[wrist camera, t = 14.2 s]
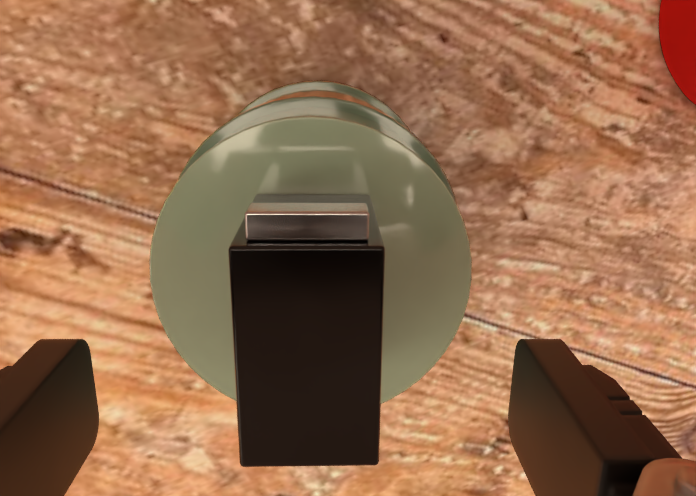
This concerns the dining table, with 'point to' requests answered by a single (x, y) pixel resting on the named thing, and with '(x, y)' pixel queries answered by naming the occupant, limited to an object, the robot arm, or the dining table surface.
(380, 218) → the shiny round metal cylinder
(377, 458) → the black usb flash drive
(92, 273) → the dining table surface
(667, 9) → the decorative ornament
